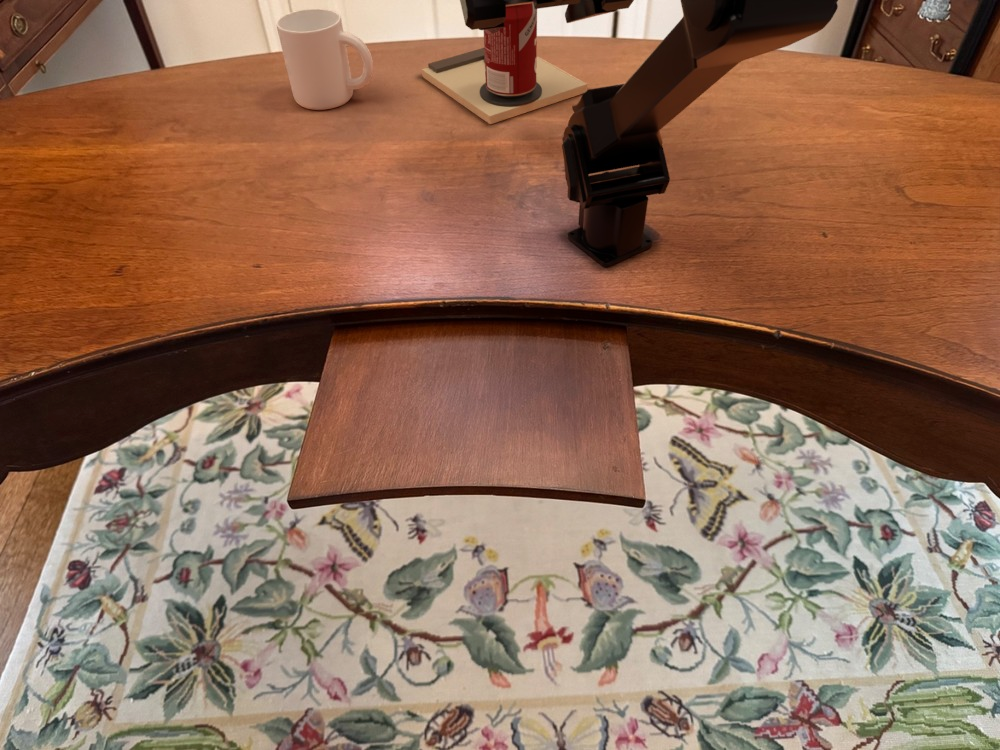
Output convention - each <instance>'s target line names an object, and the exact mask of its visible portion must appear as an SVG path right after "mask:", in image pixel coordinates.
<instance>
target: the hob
mask: <svg viewBox="0 0 1000 750" xmlns="http://www.w3.org/2000/svg"><path fill="white" fill-rule="evenodd" d="M427 66H428V67H424V68H422V69H421V73H422V75H421V76H422V78H423V79H425V80H426V81H427V82H429V83H430V84H431V85H433V86H435V88H438V89H439V90H440V91H441V92H443V93H444V94H446V95H448V96H449V97H450V98H451V99H453V100H454V101H456V102H457V103H458V104H460V105H462V106H463V107H464V108H466V109H467V110H468V111H470V112H472V113H473V114H474V115H476V116H477V117H478V118H480V119H482V120H483V121H484V122H486V123H487V124H488V125H493V124H496V123H498V122H503V121H505V120H508V119H511V118H514V117H517V116H520V115H523V114H525V113H526V114H527V113H529V112H531V111H535V110H538V109H541V108H544V107H546V106H549V105H553V104H556V103H559V102H562V101H564V100H567V99H570V98H574V97H577V96H580V95H583V94H584V93H585V92H586V91H587V90H588V83H587V82H585V81H583V80H581V79H579V78H577V77H575V76H574V75H572V74H570V73H568V72H567V71H565V70H563V69H561V68H559V67H558V66H556V65H555V64H553V63H551V62H549V61H547V60H545V59H544V58H541V57H540V56H538V55H537V64H536V87H535V89H534V90H533V91H531V92H530V93H528V94H526V95H524V96H522V97H518V98H503V97H499V96H497V95H495V94H493V93H491V92H490V91H488V90H487V88H486V79H485V53H484V47H481V48H478V49H475V50H470V51H467V52H464V53H461V54H457V55H454V56H451V57H446V58H443V59H440V60H437V61H433V62H429V63H428V64H427Z"/></svg>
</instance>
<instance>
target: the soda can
mask: <svg viewBox="0 0 1000 750" xmlns="http://www.w3.org/2000/svg"><path fill="white" fill-rule="evenodd" d="M537 47H538V9H534V4H533V3H530V4H523V5H515V6H508V7H506V18H505V21H504V27H503V28H502V29H500V30H499V31H498V32H496V33H493V34H491V32H490V31H488V30H483V48H484V53H485V79H486V88H487V90H488V91H490V92H491V93H493V94H495V95H497V96H499V97H503V98H518V97H522V96H524V95H526V94H528V93H530V92H531V91H533V90H534V89H535V87H536V64H537V56H538V55H537V52H538V51H537V50H538V49H537Z"/></svg>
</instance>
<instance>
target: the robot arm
mask: <svg viewBox="0 0 1000 750" xmlns="http://www.w3.org/2000/svg"><path fill="white" fill-rule="evenodd" d="M634 1H635V0H459V3H460V6H461V7H460V8H461V12H462V16H463V20H464V24H465V27H467V28H468V29H469V30H472V31H474V30H479V31H484V30H488V31H490V32H491V34H493V33H496V32H498V31H499V30H500V29H502V28H503V27H504V21H505V18H506V7H508V6H515V5H523V4H530V3H533V4H534V9H537V10H538V9H545V8H546V9H547V8H553V7H560V6H566V8H565V9H566V10H565V13H564V18H565V22H566V24H571V23H574V22H578V21H582V20H585V19H590V18H593V17H597V16H601V15H606V14H610V13H615V12H617V11H618V10H625V9H629V8H630V7H631V5H632V4H633V2H634ZM838 2H839V0H680V5H681V10H682V15H683V16H682V17H681V19H680V20H679V21H678V22H677V23H676V24H675V26H674V27H673V28H672V29H671V30H670V31H669V33H667V35H666V36H665V37H664V38H663V40H662V41H661V42H660V43H659V44H658V45H657V46H656V48H655V49H654V50H653V51H652V52H651V53H649V54H650V55H649V56H647V58H646V59H645V60H644V61H643V62H642V63H641V65H640V66H639V67H638V68H637V69H636V70H635V71H634V72H633V74H632V75H631V76H630V77H629V78H628V79H627V80H626V82H625V83H621V84H620V83H619V84H614V85H608V86H601V87H595V88H590V89H587V91H586V92H585V93H583V94H581V97H580V99H579V101H578V103H577V104H574V105H572V107H571V110H572V112H573V114H572V115H570V118H569V120H568V123H567V126H565V128H564V131H563V137H562V138H561V139H562V144H561V150H562V156H563V165H564V177H565V181H566V186H567V194H566V195H567V196H566V197H567V198H568V201H571V202H576V204H578V203H579V209H578V222H577V223H578V226H579V227H577V228H575V229H573V230H571V231H569V232H568V233H567V239H568V240H569V241H570V242H572V243H573V244H574V245H575V246H577V247H578V248H579V249H580V250H582V251H583V252H584V253H586V254H587V255H588V256H589V257H591V258H592V259H593V260H594V261H596V262H597V263H598V264H600V265H601V266H603V267H605V268H606V267H607V268H608V267H610V266H613V265H614V264H617V263H620V262H621V261H624V260H625V259H628V258H630V257H632V256H635V255H637V254H640V253H641V252H644V251H646V250H648V249H650V248H652V247H653V245H654V240H653V239H652V238H650V237H649V236H648V235H646V234H645V233H644V231H645V225H646V218H647V211H648V205H649V204H648V203H649V196H653V195H663V194H665V193H666V190H667V188H668V186H669V184H670V182H671V181H670V180H671V178H670V177H671V176H670V173H669V167H668V164H667V159H666V156H665V155H666V154H665V151H664V146H663V144H664V143H663V139H662V134H661V130H662V129H663V128H664V127H665V126H667V125H668V124H669V123H670V122H671V121H672V120H674V119H675V118H676V117H678V115H680V114H681V113H682V112H683V111H684V110H686V108H688V107H689V106H690V105H691V104H692V103H694V102H695V101H696V100H698V98H699V97H700V96H702V95H703V94H704V93H705V92H707V91H708V90H709V89H710V88H711V87H712V86H714V85H715V84H717V82H718V81H719V80H721V79H722V78H723V77H724V76H725V75H727V74H728V73H729V72H730V71H731V70H732V69H734V68H735V67H737V65H739V64H740V63H742V62H743V61H746V60H750V59H752V58H755V57H759V56H761V55H765V54H767V53H771V52H774V51H776V50H780V49H783V48H786V47H788V46H791V45H793V44H796V43H798V42H800V41H802V40H805V39H807V38H808V37H811V36H813V35H814V34H817V33H819V32H820V31H822V30H823V29H824V28H825V27H826V26H827V25H828V24H829V23H830V22H831V21H832V19H833V17H834V16H835V15H836V12H837V11H838V8H839V4H838Z"/></svg>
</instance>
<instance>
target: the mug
mask: <svg viewBox="0 0 1000 750" xmlns="http://www.w3.org/2000/svg"><path fill="white" fill-rule="evenodd" d="M275 26H276V30H277V34H278V39H279V42H280V47H281V51H282V55H283V60H284V64H285V68H286V72H287V76H288V80H289V84H290V89H291V93H292V96H293V99H294V101H295V102H296V104H298V105H299V107H302V108H303V109H308V110H313V111H314V110H315V111H323V110H330V109H335V108H339V107H341V106H343V105H345V104H347V103H348V102H349V101H350V100H351V98H352V97H353V95H354V90H358V89H362V88H363V87H365V86H367V85H368V84H369V83H370V81H371V79H372V77H373V73H374V61H373V56H372V54H371V51H370V50H369V47H368V46H367V44H366V43H365V42H364V40H362V39H361V38H360V37H358V36H357V35H355V34H354V33H351V32H349V31H344V28H343V22H342V16H341V15H340V13H339V12H337V11H335V10H332V9H327V8H305V9H300V10H299V9H298V10H295V11H291V12H288V13H286V14H284V15H282V16H280V17H279V18H278V19H277V20H276V23H275ZM347 46H349V47H352V48H353V49H355V51H357V52H358V54H359V56H360V58H361V60H362V66H363V67H362V73H361V75H360V76H358V77H352V73H351V68H350V61H349V55H348V50H347Z"/></svg>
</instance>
